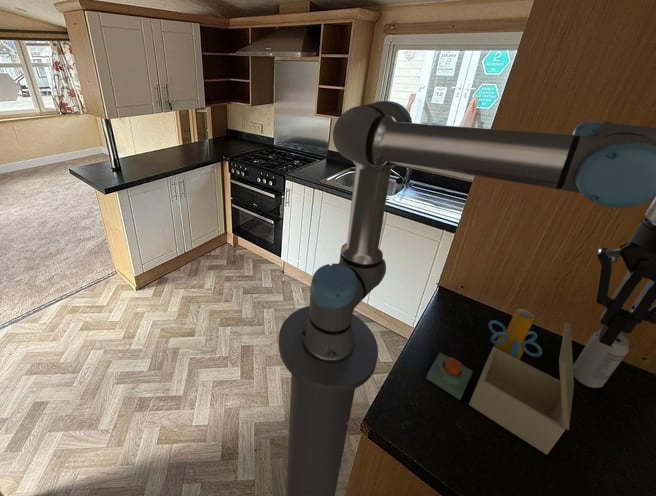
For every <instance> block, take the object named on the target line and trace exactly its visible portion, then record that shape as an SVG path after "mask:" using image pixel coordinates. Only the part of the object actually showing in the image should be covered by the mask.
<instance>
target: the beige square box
mask: <svg viewBox="0 0 656 496" xmlns="http://www.w3.org/2000/svg"><path fill="white" fill-rule="evenodd" d="M468 406H470V407H471V408H473V409H474V410H476V411H478V413H480V414H482V415H484V416H486V417H487V418H488V419H490V420H492V421H493V422H495V423H496V424H498V425H499V426H501V427H503V428H504V429H506V430H507V431H509V432H510V433H512V434H513V435H515V436H517V438H519V439H522V440H523V441H525V442H526V443H527V444H529V445H531V446H532V447H533V448H535V449H537V450H538V451H540V452H542V453H543V454H545V455H546V456H547V455H548V454H550V452H551V450H552V449H554V448H553V447H554V446H555V445H556V444H557V442H558V441H559V439H560V438H561V437H562V436H563V434H564V433H565V431H566V429H565V428H563V416H562V400H561V385H560V379H558V378H556V377H553V376H552V375H550V374H547V373H546V372H544V371H542V370H540V369H538V368H536V367H534V366H532V365H530V364H528V363H526V362H524V361H522V360H521V359H520V360H518V359H516V358H514V357H512V356H511V355H509V354H507V353H505V352H503V351H501V350H499V349H497V348H495V347H494V346H492V348H491V351H490V352H489V355H488V357H487V360H486V362H485V364H484V365H483V368H482V371H481V374H480V376H479V378H478V380H477V382H476V385H475V388H474V390H473V393H472V395H471V397H470V400H469V402H468Z"/></svg>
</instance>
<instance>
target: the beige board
mask: <svg viewBox="0 0 656 496" xmlns="http://www.w3.org/2000/svg"><path fill="white" fill-rule="evenodd" d="M558 364H559V365H558V367H559V368H558V370H559V381H560V385H561V400H562V416H563V428H565V430H567V431H569V430H570V424H571V415H572V407H573V398H574V389H575V379H574V378H575V377H574V375H573V365H574V359H573V342H572V324H571V323H569V322H565V323H564V329H563V335H562V340H561V346H560V351H559V358H558Z"/></svg>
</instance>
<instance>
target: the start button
mask: <svg viewBox="0 0 656 496" xmlns="http://www.w3.org/2000/svg"><path fill="white" fill-rule="evenodd" d="M453 358H454V357H452V358H447V359H446V361H445V363H444V368H445V370H446V371H447V372H448V373H450V374H452V375H459V373H460V371H461V369H462V366H461V364H462V363H461V364H460V363H459V362H460V361H459V360H458V359H456V358H454V359H453ZM455 359H456V360H455ZM457 360H458V361H459V362H458V361H457Z"/></svg>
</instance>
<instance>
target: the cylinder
mask: <svg viewBox="0 0 656 496" xmlns="http://www.w3.org/2000/svg"><path fill="white" fill-rule="evenodd" d="M535 320H536V315H535V314H534V313H533V312H531V311H530V310H528V309H525V308H523V307H522V308H520V307H519V308H516V309H515V311H514V313H513V315H512V317H511V319H510V322H509V323H508V326H507V327H506V326H505V325H504V323H502V322H500V321H498V320H491V321H489V322H488V326H487V327H488V329H489V330H490V332H491V333H492V335H491V337H490V342H491V343H492V344H493V347H495V348H497V349H499V350H501V351H503V352H505V353H507V354H509V355H511V356H512V357H514V358H516V359H518V360H520V361H521V359H522V357H523V355H524V353H526V354H527V355H528V356H530V357H532V358H533V357H534V358H539V357H541V356H542V354H543V349H542V348H541V346H540V345H539V344H538V343H537V342H535V341H536V340H537V338H538V334H537V333H536V332H535V331H533V330H530V329H531V327H532V326H533V324H534V322H535ZM493 324H496V325H498V326H500V328H501V329H502V331H496V330H495V329H494V328H493ZM529 335H533V336H532V337H531V338H529V339H526V337H527V336H529ZM495 339H496V340H495ZM525 339H526V340H525ZM527 344H530V345H533V346H534V347H535V348H536V350H537V352H536V353H533V352H531V351H529V350H528V349H527V348H526V345H527Z"/></svg>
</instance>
